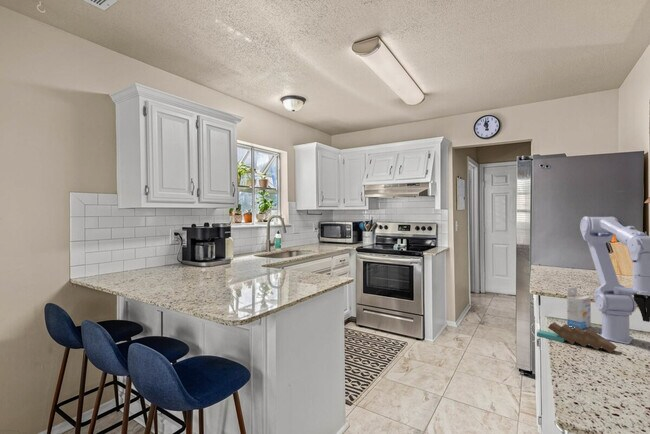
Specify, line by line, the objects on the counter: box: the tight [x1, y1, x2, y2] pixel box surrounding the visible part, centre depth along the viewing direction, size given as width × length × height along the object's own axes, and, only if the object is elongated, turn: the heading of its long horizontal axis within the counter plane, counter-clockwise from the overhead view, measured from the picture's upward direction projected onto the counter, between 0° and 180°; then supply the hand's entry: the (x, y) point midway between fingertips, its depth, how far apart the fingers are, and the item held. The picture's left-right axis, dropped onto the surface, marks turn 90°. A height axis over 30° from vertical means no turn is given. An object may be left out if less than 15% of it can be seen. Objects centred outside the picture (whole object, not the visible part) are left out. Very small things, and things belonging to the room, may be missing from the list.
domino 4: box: [571, 326, 602, 351], centre depth 110 cm, size 2×4×8 cm
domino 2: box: [547, 322, 577, 345], centre depth 115 cm, size 2×4×8 cm
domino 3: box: [559, 323, 589, 348], centre depth 112 cm, size 2×4×8 cm
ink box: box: [566, 286, 592, 330], centre depth 131 cm, size 8×5×15 cm, turn 123°
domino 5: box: [583, 328, 618, 354], centre depth 107 cm, size 2×4×8 cm
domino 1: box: [536, 330, 566, 343], centre depth 117 cm, size 2×4×8 cm
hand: (646, 321), depth 102 cm, fingers closed
